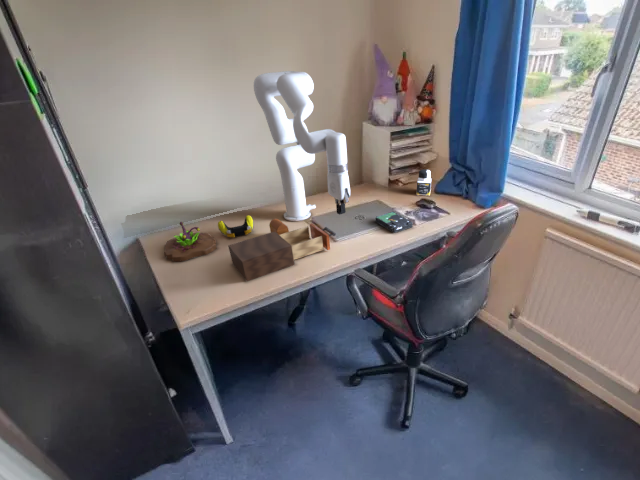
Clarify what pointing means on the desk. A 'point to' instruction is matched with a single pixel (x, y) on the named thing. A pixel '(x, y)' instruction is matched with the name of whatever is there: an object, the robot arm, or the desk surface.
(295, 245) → the drawer
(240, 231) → the gaming controller
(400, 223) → the disk drive
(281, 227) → the brown rounded block
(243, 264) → the cabinet
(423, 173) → the medicine bottle
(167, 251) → the plant
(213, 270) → the desk surface
